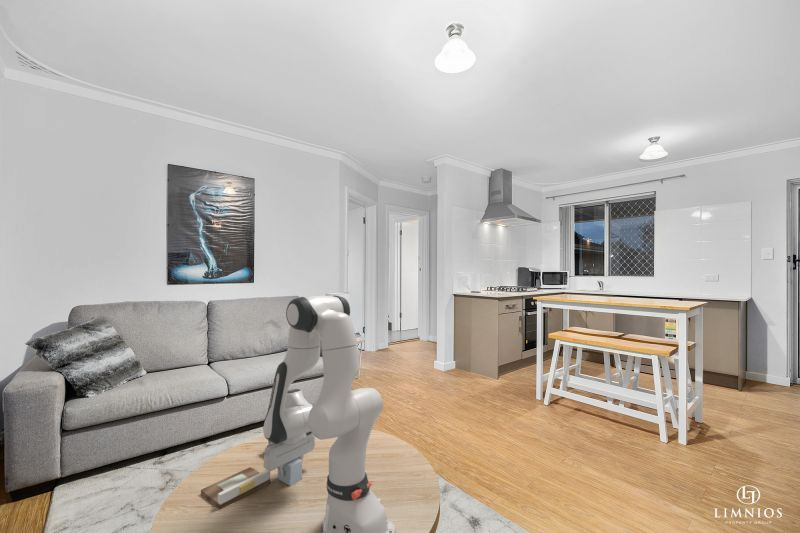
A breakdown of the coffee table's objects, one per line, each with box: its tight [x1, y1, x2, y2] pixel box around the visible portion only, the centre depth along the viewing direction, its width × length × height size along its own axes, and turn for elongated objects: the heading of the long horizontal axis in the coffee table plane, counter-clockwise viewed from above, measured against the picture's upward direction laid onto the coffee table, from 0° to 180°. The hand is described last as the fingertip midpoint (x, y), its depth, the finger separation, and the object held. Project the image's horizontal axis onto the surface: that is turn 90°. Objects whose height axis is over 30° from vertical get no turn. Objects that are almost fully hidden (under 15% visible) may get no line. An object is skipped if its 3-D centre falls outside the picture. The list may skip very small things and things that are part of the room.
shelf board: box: [200, 466, 271, 510], centre depth 126 cm, size 13×18×2 cm
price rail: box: [218, 469, 271, 505], centre depth 122 cm, size 2×18×3 cm, turn 144°
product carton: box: [277, 458, 303, 487], centre depth 132 cm, size 5×8×7 cm
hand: (290, 471), depth 132 cm, fingers closed on product carton, 5 cm apart
